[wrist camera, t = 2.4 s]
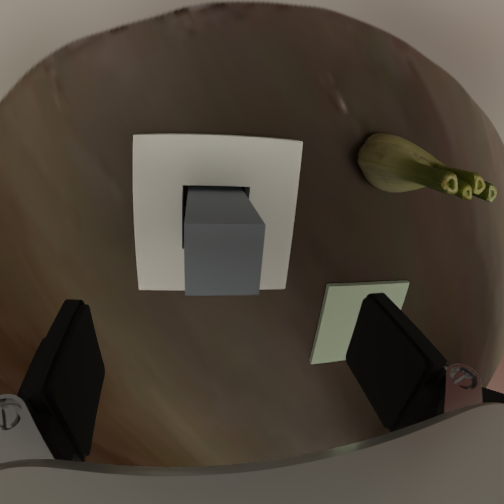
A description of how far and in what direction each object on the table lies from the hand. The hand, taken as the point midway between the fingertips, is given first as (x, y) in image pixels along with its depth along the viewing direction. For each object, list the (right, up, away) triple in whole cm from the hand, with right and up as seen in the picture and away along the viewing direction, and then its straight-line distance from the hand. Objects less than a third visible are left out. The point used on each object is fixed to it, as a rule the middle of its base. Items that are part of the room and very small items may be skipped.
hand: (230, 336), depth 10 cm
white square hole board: (-2, +6, +15) cm, 17 cm away
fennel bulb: (+12, +11, +16) cm, 23 cm away
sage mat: (+12, -5, +23) cm, 26 cm away
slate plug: (-2, +6, +15) cm, 17 cm away
